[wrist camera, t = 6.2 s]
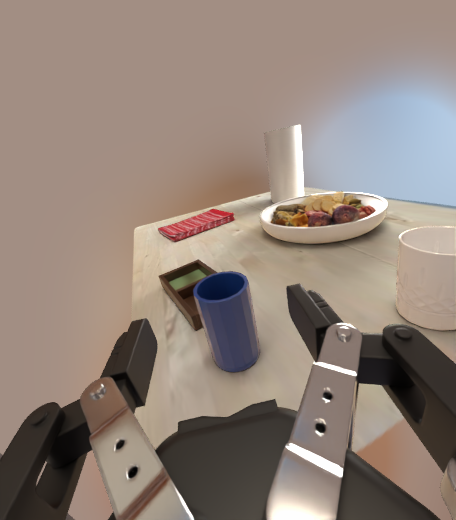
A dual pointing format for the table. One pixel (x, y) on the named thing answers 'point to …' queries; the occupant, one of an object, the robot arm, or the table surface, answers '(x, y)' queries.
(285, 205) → the bowl
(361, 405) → the table surface
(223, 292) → the cup
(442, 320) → the white cup
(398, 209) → the table surface
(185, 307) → the holder
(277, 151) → the cylinder vase
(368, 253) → the table surface
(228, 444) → the robot arm
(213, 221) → the dish towel
